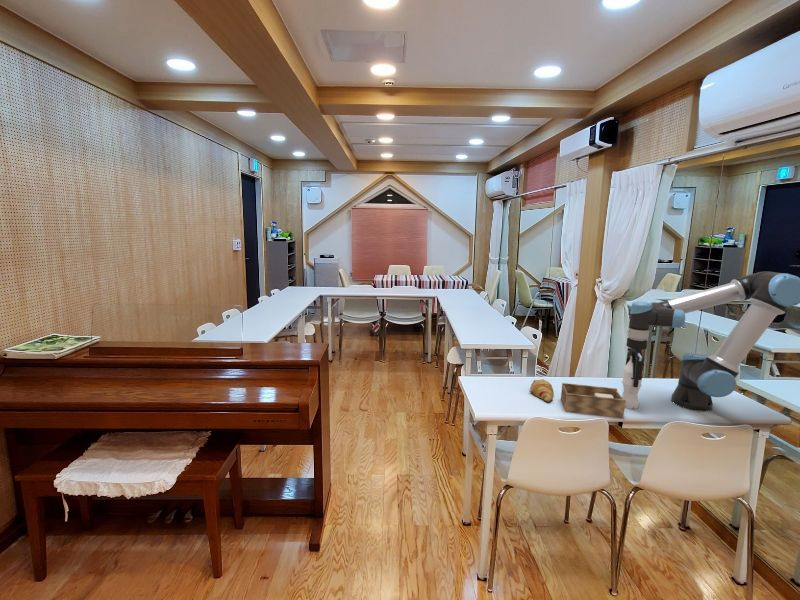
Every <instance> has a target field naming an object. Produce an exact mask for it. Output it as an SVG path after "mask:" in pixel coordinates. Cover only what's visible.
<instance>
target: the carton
mask: <svg viewBox="0 0 800 600" xmlns="http://www.w3.org/2000/svg"><path fill="white" fill-rule="evenodd" d="M594 396H597V397H606V398H614V397H613V396H612V395H611V394H601V393H595V394H594Z"/></svg>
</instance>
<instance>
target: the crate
mask: <svg viewBox="0 0 800 600" xmlns="http://www.w3.org/2000/svg"><path fill="white" fill-rule="evenodd" d="M595 393H601V394H611V395H612V396H613V397H614V398H606V397H597V396H594V394H595ZM560 402H561V404H562V407H563V410H564V412H565V413H573V414H583V415H589V416H590V415H591V416H598V417H599V416H600V417H605V418H606V417H608V418H614V419H615V418H616V419H622V420H623V419H624V418H625V417H624V416H625V409H626V408H625V402H626V400H625V399H623V398H622V396H621V394H620V392H618V388H614V387H605V386H595V385H584V384H576V383H567V382H566V383H565V382H562V384H561V393H560Z"/></svg>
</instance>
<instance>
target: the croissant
mask: <svg viewBox="0 0 800 600" xmlns="http://www.w3.org/2000/svg"><path fill="white" fill-rule="evenodd" d="M529 389H530V392H531V393H532V394H533V395H534V396H535V397H538V398H540V400H543V401H544V402H551V401H552V400H553V398H554V388H553V386H552V384H551V383H550V382H549V381H547V380H545V379H538V380H537V379H536V380H535V379H534V380H533V381H532V383H531V385H530V387H529Z"/></svg>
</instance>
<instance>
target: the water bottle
mask: <svg viewBox="0 0 800 600" xmlns="http://www.w3.org/2000/svg"><path fill="white" fill-rule="evenodd" d="M630 357H631V356H630ZM625 365H626V366H625ZM625 365H624V368H623V374H622V381H621V382H622V386H623V393H622V396H621V397H622V398H623V399H625V400H626V402H625V409H629V410H637V409H638V408H639V406H640V402H639V399H638V396H639V395H638V394H639V393H638V394H630V388H631V380H632V379H631V378H633V363H632V357H631V359H630V361H629V362H628V363H627V364H626V363H625ZM643 374H644V370H643V371H642V375H643ZM641 387H642V380H639V387H638V392H639V391H640V389H641Z"/></svg>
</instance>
